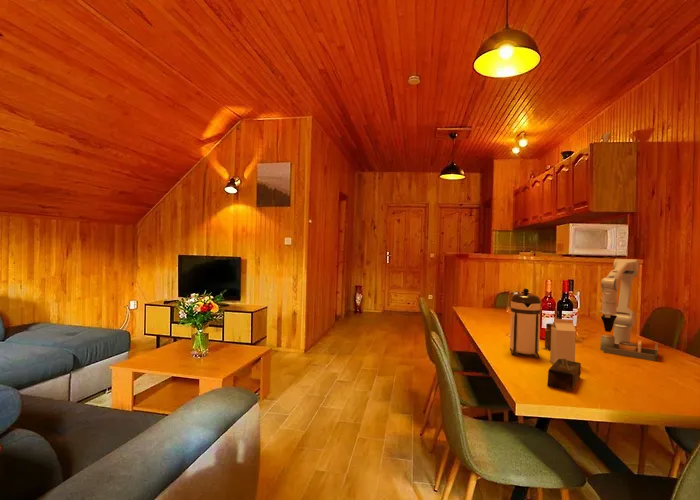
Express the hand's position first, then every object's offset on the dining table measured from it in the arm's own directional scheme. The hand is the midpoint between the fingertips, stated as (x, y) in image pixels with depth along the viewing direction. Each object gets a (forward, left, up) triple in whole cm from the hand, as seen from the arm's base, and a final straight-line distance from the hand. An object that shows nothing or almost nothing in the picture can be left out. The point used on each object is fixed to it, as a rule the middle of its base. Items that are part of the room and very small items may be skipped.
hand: (608, 330), depth 181 cm
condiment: (+18, -20, -10) cm, 29 cm away
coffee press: (+36, -29, -10) cm, 47 cm away
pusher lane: (0, +9, -9) cm, 13 cm away
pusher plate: (0, +12, -9) cm, 15 cm away
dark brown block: (+64, -7, -10) cm, 66 cm away
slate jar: (0, 0, -9) cm, 9 cm away
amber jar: (0, +8, -10) cm, 12 cm away
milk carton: (+42, -12, -10) cm, 45 cm away
